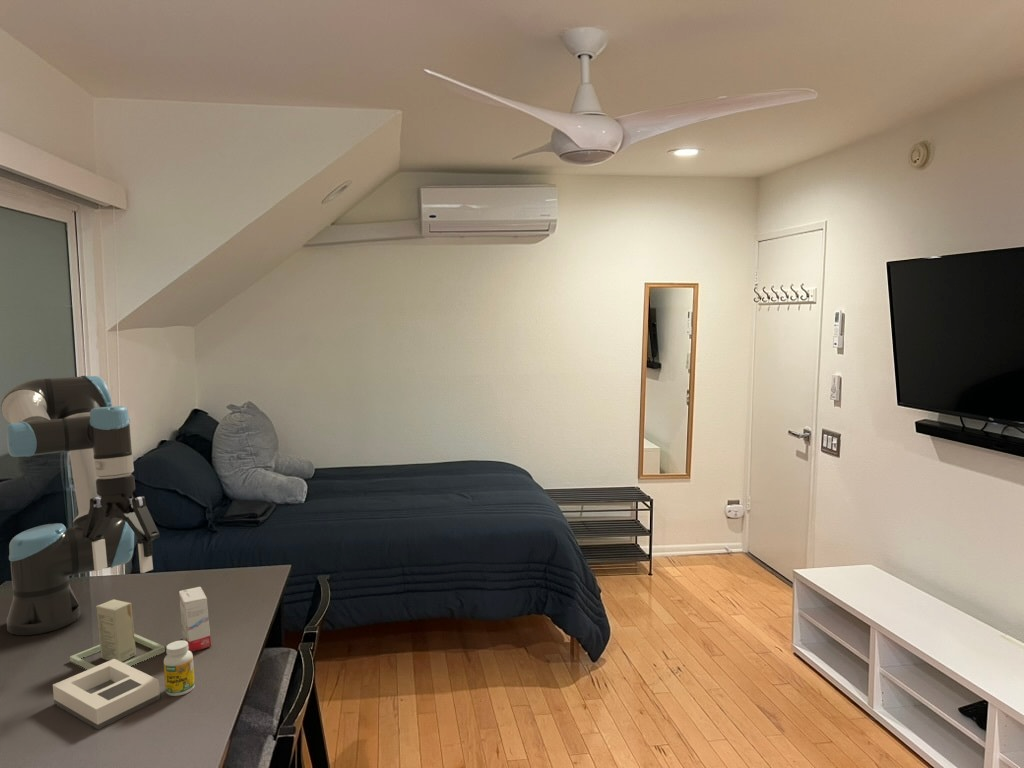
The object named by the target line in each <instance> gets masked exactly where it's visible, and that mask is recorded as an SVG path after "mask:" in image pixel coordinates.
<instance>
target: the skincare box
mask: <svg viewBox="0 0 1024 768" xmlns="http://www.w3.org/2000/svg"><path fill="white" fill-rule="evenodd" d="M132 606H133V605H132V602H129V601H123V600H119V599H114V598H113V599H111V600H108V601H106V602H104V603H101V604H98V605H96V606H95V607H96V616H97V617H96V618H97V627H98V639H99V645H100V648H101V651H100V657H101V659H103V660H105V661H110V660H112V659H116V660H118V661H120V662H122V663H124V661H125V662H126V661H128V660H129V659H130V658H131V659H132V657H134V656H136V655H137V648H136V642H135V637H134V633H135V629H134V619H133V607H132Z"/></svg>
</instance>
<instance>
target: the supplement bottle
mask: <svg viewBox="0 0 1024 768" xmlns="http://www.w3.org/2000/svg"><path fill="white" fill-rule="evenodd" d="M188 648H189V647H188V642H187V641H184V640H183V639H181V640H175V641H172V642H170V643H168V644H167V645H166V646H165V652H166V655H165V656H164V659H163V671H164V673H163V674H164V684H165V685H164V686H165V693H166V694H167V695H168V696H172V697H180V696H183V695H186V694H188V693H190V692H192V691H193V689H195V685H196V683H195V682H196V681H195V669H194V668H195V667H194V657H193V656H194V655H193V652H190V651H189V650H188Z"/></svg>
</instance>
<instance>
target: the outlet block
mask: <svg viewBox="0 0 1024 768" xmlns="http://www.w3.org/2000/svg"><path fill="white" fill-rule="evenodd" d="M95 666H96V667H93V668H91V669H89V670H86V669H85V670H84V671H82V672H79V673H77V674H75V675H72V676H70V677H68V678H66V679H63V680H61V681H58V682H56V683H53V684H52V692H53V693H52V694H53V705H55V704H57V705H58V706H60V707H61V708H60V707H59V708H60V709H62V708H63V709H62V710H64V709H65V710H66V712H67V711H68V712H67V713H68V714H70V713H71V715H72V716H74V717H76V718H77V719H79V720H81V721H82V722H84V723H86V724H88V725H89V726H91V727H93V728H94V729H96V730H97V731H98V730H101V729H103V728H105V727H106V726H109V725H111V724H113V723H115V722H116V721H117V722H118V721H119V720H121V719H123V718H124V717H126V716H128V715H130V714H133V713H135V712H137V711H138V710H140V709H142V708H145V707H146V706H148V705H151V704H153V703H154V702H156V701H159V700H160V699H161V696H160V695H161V694H160V682H159V680H160V679H158V678H155V677H153V676H151V675H149V674H148V673H146V672H143V671H141V670H139V669H137V668H135V667H134V666H132V667H131V666H129V665H127V664H124V662H120V661H118V660H116V659H112V660H110V661H109V660H106V661H105V662H103V663H101V664H98V665H95ZM57 705H56V706H57ZM58 706H57V707H58ZM65 710H64V711H65Z"/></svg>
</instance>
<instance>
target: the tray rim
mask: <svg viewBox="0 0 1024 768" xmlns="http://www.w3.org/2000/svg"><path fill="white" fill-rule="evenodd" d="M134 637H135V643H138V644H139V645H142V646H144V647H146V648H150V649H151V650H149V651H147V652H144V653H143V654H140V655H139V656H136V657H134V658H131V659H130V660H129V659H128V660H126V661H125V662H124V661H123V663H124V664H127V665H129V666H132V665H134V666H136V665H138V664H137V663H139V662H141V661H143V662H145V661H148V660H150V659H152V658H154V657H156V655H157V656H159V655H161V654H163V653H165V652H166V646H164V645H162V644H161V643H157V642H155V641H153V640H150V639H148V638H145V637H143V636H141V635H139V634H136V633H135V632H134ZM99 652H101V648H100V644H98V645H95V646H92V647H91V648H90V647H89V648H87V649H85V650H83V651H81V652H78V653H77V652H76V653H75V654H72V655H70V656H69V661H72V662H75V663H76V664H78V665H80V666H82V667H84V668H85V669H84V668H83V669H84V670H86V669H87V670H89V669H91V668H93V667H96V666H97V665H95V664H93V663H91V662H88V661H87V660H84V658H83V657H85V658H87V657H89V656H91V655H94V654H97V653H99ZM153 656H154V657H153ZM151 657H152V658H151ZM81 658H82V659H81ZM149 658H150V659H149ZM147 659H148V660H147ZM144 660H145V661H144ZM72 662H71V663H72ZM141 663H142V662H141ZM76 664H75V665H76ZM135 664H136V665H135ZM139 664H140V663H139ZM78 665H77V666H78ZM80 666H79V667H80ZM82 667H81V668H82ZM132 667H133V666H132Z"/></svg>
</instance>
